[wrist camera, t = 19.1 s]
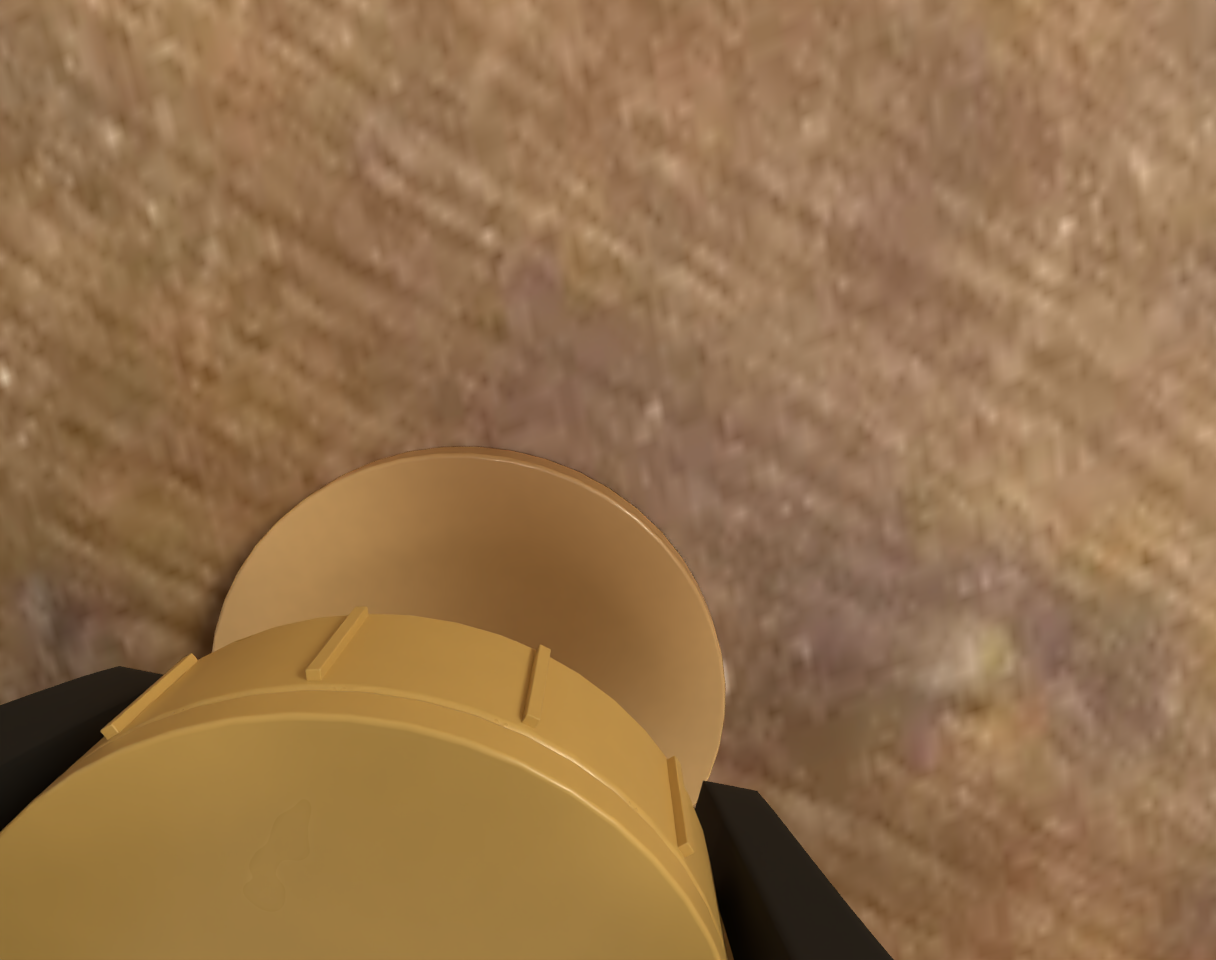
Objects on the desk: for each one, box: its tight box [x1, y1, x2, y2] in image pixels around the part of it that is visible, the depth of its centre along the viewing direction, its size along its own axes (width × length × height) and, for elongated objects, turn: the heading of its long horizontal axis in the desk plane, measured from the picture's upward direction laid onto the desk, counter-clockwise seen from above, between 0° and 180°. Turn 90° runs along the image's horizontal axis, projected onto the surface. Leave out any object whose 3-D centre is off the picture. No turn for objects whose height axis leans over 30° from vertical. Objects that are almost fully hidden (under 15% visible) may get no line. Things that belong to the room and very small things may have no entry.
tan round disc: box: [212, 447, 725, 807], centre depth 11 cm, size 7×7×1 cm
